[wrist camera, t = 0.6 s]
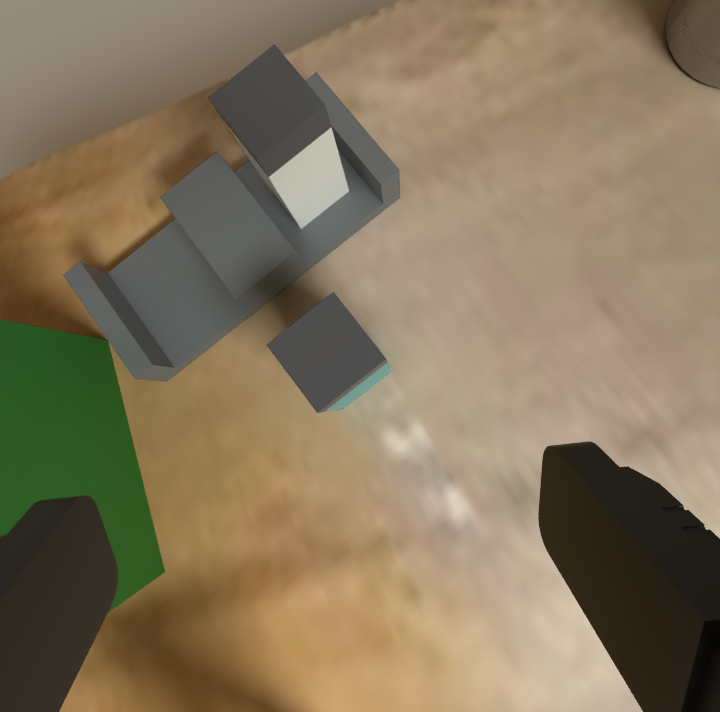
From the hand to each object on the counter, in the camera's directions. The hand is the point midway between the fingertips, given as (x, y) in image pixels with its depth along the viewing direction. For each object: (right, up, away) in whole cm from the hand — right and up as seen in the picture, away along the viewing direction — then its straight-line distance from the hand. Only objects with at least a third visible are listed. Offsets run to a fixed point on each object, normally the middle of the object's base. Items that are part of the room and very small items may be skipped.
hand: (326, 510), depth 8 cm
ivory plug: (-3, +15, +26) cm, 30 cm away
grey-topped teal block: (0, +2, +25) cm, 25 cm away
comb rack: (-8, +11, +27) cm, 30 cm away
